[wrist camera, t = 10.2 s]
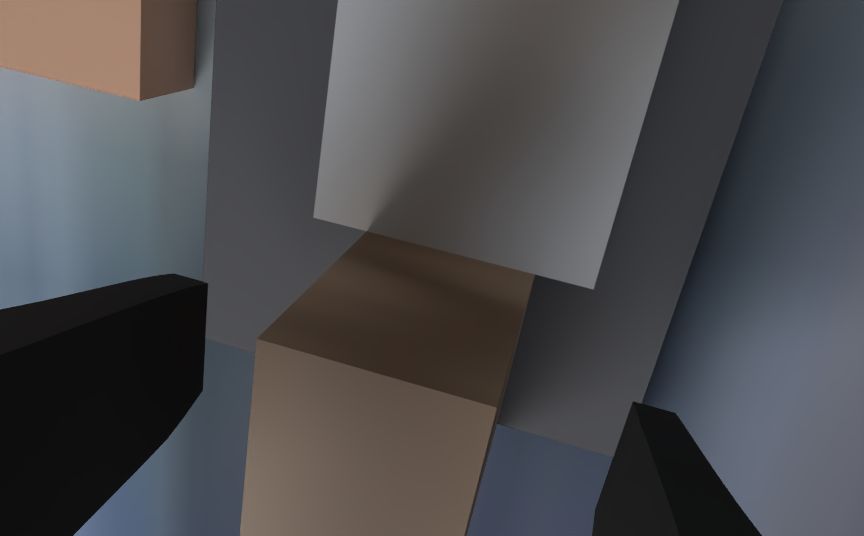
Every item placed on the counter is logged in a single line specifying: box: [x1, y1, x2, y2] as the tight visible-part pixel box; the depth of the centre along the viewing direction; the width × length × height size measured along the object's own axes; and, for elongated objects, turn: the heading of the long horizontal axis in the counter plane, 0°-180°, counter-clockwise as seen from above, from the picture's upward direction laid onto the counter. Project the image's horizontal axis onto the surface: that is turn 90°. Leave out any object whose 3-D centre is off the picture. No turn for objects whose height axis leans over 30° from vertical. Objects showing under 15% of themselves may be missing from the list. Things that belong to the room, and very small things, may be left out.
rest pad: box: [203, 0, 784, 457], centre depth 12 cm, size 9×12×1 cm
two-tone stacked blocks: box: [240, 0, 679, 536], centre depth 10 cm, size 5×12×5 cm, turn 170°
